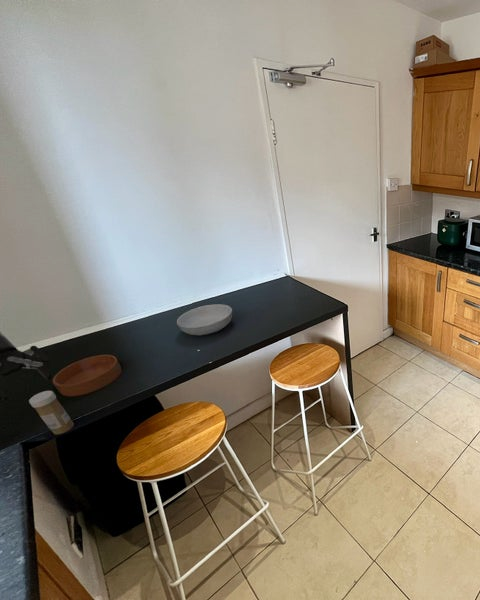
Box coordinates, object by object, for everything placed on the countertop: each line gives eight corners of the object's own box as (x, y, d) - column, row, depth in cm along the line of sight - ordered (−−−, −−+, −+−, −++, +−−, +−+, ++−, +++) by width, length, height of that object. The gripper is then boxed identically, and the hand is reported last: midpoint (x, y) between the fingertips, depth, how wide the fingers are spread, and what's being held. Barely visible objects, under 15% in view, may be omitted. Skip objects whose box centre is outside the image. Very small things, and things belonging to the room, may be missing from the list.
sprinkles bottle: (80, 426, 91) (57, 391, 84) (62, 439, 87) (37, 403, 80) (68, 423, 91) (44, 388, 85) (49, 436, 87) (23, 401, 81)
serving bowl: (245, 323, 141) (241, 310, 138) (198, 347, 125) (193, 332, 122) (218, 312, 151) (214, 299, 147) (172, 332, 135) (166, 319, 131)
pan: (63, 404, 98) (55, 393, 96) (56, 381, 108) (50, 371, 106) (126, 377, 109) (121, 367, 107) (116, 359, 119) (111, 349, 117)
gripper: (-61, 353, 76) (-12, 402, 77) (21, 325, 88) (62, 368, 89) (-54, 364, 81) (-9, 410, 82) (22, 336, 92) (61, 377, 93)
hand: (28, 388), depth 85 cm, fingers open, 8 cm apart
